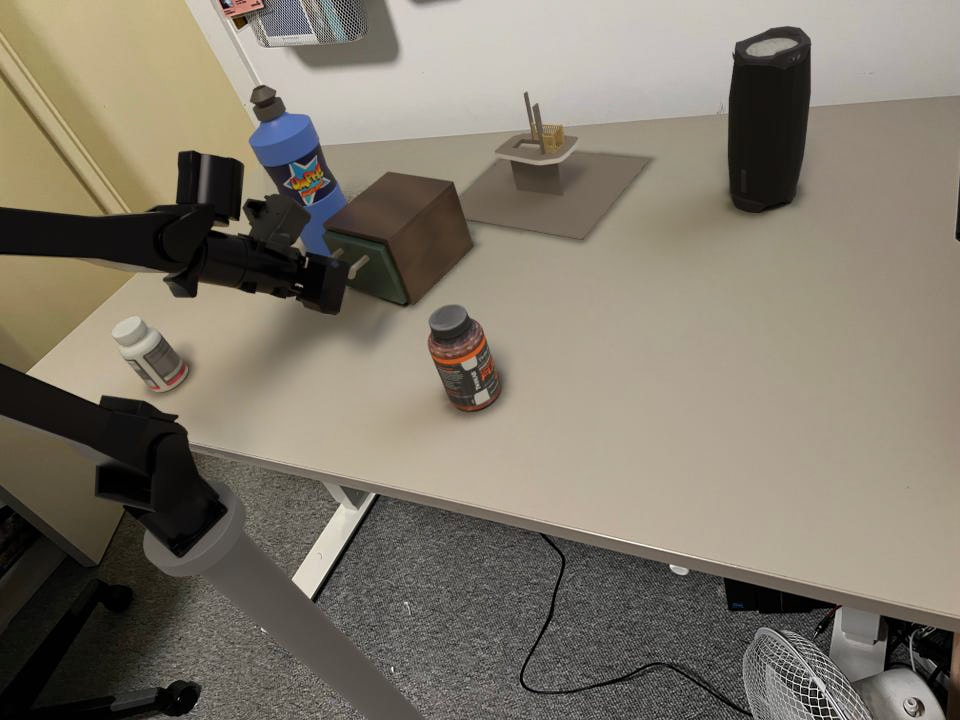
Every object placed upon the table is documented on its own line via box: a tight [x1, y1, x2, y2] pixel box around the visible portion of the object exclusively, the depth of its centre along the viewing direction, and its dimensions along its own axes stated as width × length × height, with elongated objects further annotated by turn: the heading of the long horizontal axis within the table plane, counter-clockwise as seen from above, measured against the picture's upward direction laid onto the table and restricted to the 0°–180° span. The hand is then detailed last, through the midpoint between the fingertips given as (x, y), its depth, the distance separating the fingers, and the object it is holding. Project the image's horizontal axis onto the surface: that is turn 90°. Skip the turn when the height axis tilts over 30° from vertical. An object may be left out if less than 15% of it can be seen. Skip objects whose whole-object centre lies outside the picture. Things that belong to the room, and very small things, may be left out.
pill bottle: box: [111, 315, 189, 393], centre depth 83 cm, size 5×5×10 cm
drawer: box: [321, 230, 408, 305], centre depth 86 cm, size 17×11×9 cm
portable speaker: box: [727, 25, 813, 213], centre depth 75 cm, size 9×9×20 cm
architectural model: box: [459, 91, 649, 240], centre depth 93 cm, size 21×25×14 cm
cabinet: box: [322, 171, 474, 306], centre depth 87 cm, size 14×13×11 cm
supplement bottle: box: [427, 303, 501, 412], centre depth 66 cm, size 6×6×11 cm
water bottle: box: [248, 84, 348, 257], centre depth 94 cm, size 9×9×25 cm
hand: (340, 283), depth 81 cm, fingers closed
